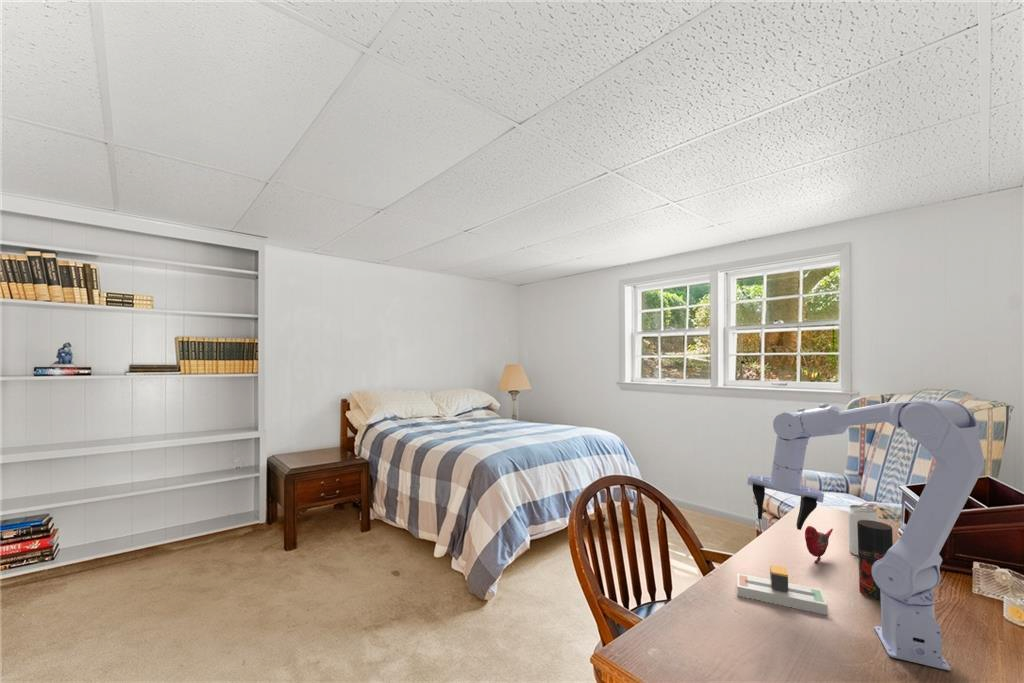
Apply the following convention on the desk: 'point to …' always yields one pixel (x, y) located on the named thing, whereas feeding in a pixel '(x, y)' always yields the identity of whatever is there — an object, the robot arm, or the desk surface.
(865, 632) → the desk surface
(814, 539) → the decorative bird figurine
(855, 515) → the can
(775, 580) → the handle
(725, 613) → the desk surface
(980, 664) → the desk surface
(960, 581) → the desk surface
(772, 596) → the box
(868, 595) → the deodorant
